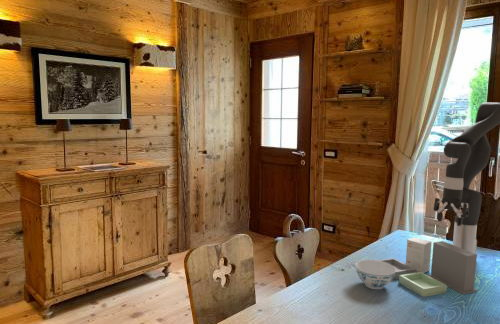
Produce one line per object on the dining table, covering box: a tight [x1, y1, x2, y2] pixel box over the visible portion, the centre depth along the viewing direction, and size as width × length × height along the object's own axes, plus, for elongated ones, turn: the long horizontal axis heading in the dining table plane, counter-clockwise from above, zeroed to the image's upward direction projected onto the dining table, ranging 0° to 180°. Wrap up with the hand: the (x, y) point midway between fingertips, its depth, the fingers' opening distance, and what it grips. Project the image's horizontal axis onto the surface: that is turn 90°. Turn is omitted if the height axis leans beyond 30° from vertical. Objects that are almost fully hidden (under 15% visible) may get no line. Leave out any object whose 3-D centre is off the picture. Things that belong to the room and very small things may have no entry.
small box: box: [405, 236, 433, 274], centre depth 168 cm, size 8×6×13 cm
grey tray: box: [377, 257, 416, 280], centre depth 165 cm, size 11×13×3 cm
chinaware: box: [355, 259, 396, 290], centre depth 151 cm, size 15×15×8 cm
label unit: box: [427, 240, 478, 295], centre depth 154 cm, size 7×17×15 cm, turn 20°
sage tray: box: [398, 272, 448, 298], centre depth 151 cm, size 11×13×3 cm
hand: (449, 223), depth 172 cm, fingers open, 8 cm apart
